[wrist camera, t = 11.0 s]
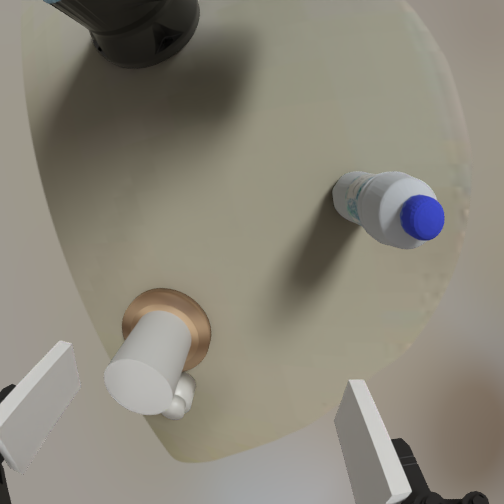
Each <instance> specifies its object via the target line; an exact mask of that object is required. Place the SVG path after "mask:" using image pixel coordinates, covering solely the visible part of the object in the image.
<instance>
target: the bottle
mask: <svg viewBox="0 0 504 504" xmlns="http://www.w3.org/2000/svg"><path fill="white" fill-rule="evenodd" d="M332 194H333V202H334V207H335V209H336V210H337V212H338V213H339V214H340V215H341V216H343V217H344V218H345V219H347V220H349V221H351V222H354V223H357V224H359V225H360V226H362V227H363V228H364V229H365V230H366V232H367V233H368V234H369V235H371V236H372V237H373V238H374V239H375V240H377V241H378V242H380V243H382V244H385V245H390V246H393V247H397V248H401V249H413V248H416V247H419V246H420V245H422V244H424V243H425V242H426V241H427V240H431V239H433V238H435V237H436V236H437V235H438V234H439V233H440V232H441V230H442V228H443V225H444V212H443V208H442V206H441V205H440V204H439V202H438V201H437V198H436V196H435V194H434V192H433V191H432V189H431V188H430V187H429V186H428V185H427V184H426V183H425V182H423V181H421V180H419V179H417V178H414V177H412V176H410V175H408V174H405V173H403V172H394V171H393V172H383V173H380V174H370V173H366V172H361V171H354V172H349V173H346V174H344V175H343V176H341V177H340V179H339V180H338V181H337V183H336V185H335V186H334V188H333V191H332Z"/></svg>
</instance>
